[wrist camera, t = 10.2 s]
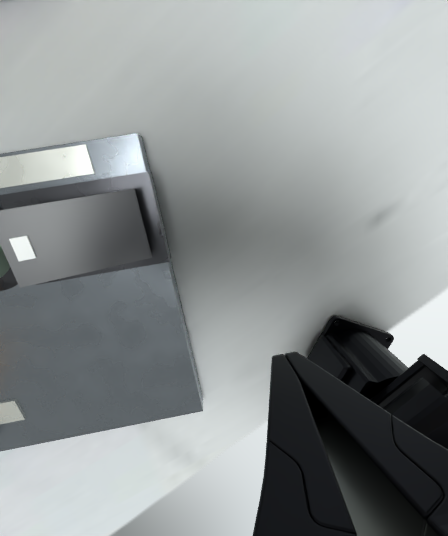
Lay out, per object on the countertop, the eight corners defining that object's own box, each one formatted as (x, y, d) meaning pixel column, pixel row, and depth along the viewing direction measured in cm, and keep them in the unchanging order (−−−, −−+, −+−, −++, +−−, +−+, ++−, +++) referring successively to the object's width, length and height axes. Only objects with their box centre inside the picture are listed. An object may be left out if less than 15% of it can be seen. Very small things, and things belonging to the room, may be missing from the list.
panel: (146, 136, 17) (133, 125, 13) (205, 396, 24) (207, 433, 21) (-198, 188, 16) (-308, 191, 12) (-26, 442, 23) (-65, 488, 20)
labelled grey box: (134, 188, 15) (134, 188, 14) (151, 253, 17) (152, 258, 15) (-3, 210, 14) (-16, 213, 12) (28, 280, 15) (19, 288, 14)
